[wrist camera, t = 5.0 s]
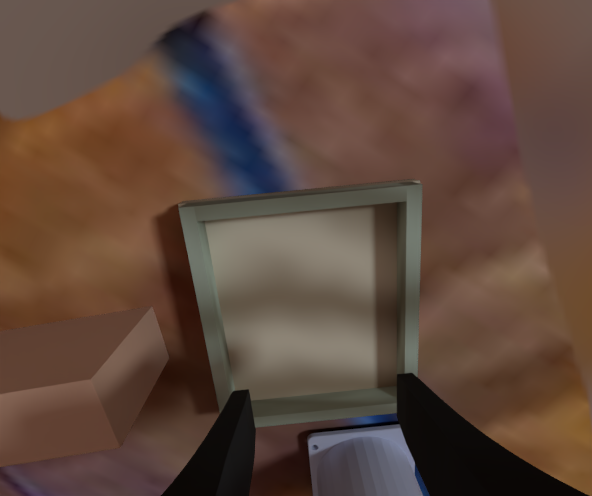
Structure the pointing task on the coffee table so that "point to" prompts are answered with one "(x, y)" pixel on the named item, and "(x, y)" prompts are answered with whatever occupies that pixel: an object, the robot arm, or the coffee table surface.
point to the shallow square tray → (309, 297)
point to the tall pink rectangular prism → (76, 383)
